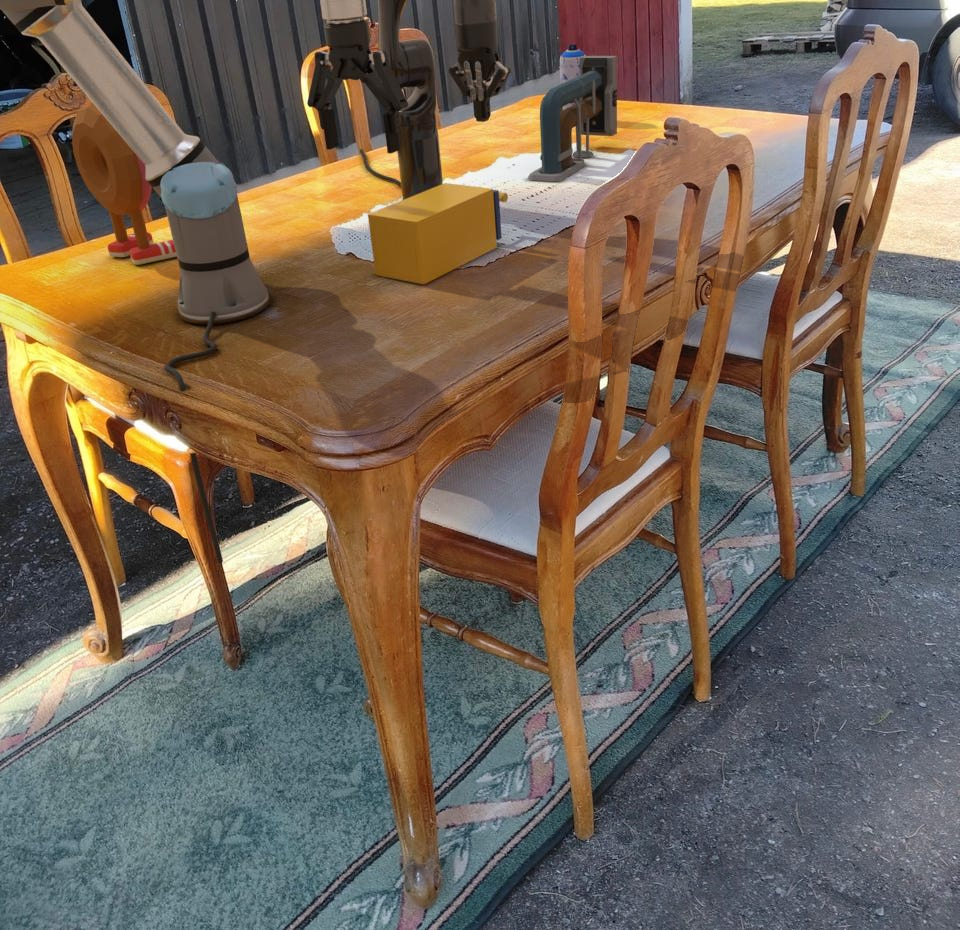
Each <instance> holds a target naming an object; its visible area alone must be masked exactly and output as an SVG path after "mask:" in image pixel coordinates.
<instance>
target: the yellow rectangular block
mask: <svg viewBox="0 0 960 930" xmlns="http://www.w3.org/2000/svg"><path fill="white" fill-rule="evenodd" d="M493 190H494V189H493V188H489V187H482V186H481V187H480V186H472V185H464V184H456V183H450V182H449V183H448V182H443V184H442V185H439V186H437V187H434V188H432V189H429V190H427V191H424V192H422V193H419V194H417V195H414V196H412V197H409V198H407V199H404V200H402V199H401V200H400V201H398V202H395V203H393V204H390V205H388V206H385V207H382V208H380V209H377V210H374V211H372V212H370V213H368V214H367V219H368V226H369V227H368V228H369V234H370V235H369V236H370V242H371V249H372V257H373V264H374V273H375V276H379V277H383V278H384V277H385V278H389V279H393V280H399V281H404V282H408V283H414V284H418V285H426V284H428V283H429V282H431V281H433V280H436V279H438V278H440V277H442V276H443V275H446V274H449V272H452V271H453V270H456V269H457V268H459V267H462V266H464V265H465V264H467V263H469V262H471V261H473V260H475V259H477V258H479V257H481V256H483V255H485V254H487V253H489V252H491V251H493V250H495V249H497V248H498V243H497V240H496V227H495V212H494V197H493Z"/></svg>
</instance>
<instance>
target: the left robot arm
mask: <svg viewBox="0 0 960 930" xmlns="http://www.w3.org/2000/svg"><path fill="white" fill-rule="evenodd" d="M82 3H83V2H82V0H0V11H2V13H3V14H4V15H5V16H6V17H7V19H8V20H9V21H10V22H11V23H12V24H13V25H14V26H15V28H16V29H17V30H18V31H19V32H20V33H21V35H23V36H27V37H32V38H36V39H38V40H39V41H40V42H41V44H43V46H44V47H45V48H46V49H47V51H48V52H49V53H50V54H51V56H53V58H54V59H55V60H56V62H58V64H60V66H61V67H62V68H63V69H64V71H65V72H66V73H67V74H68V76H69V77H70V78H71V79H72V80H73V81H74V82H75V84H76V85H77V86H78V87H79V88H80V90H81V91H82V93H84V94H85V96H86V97H87V98H88V99H89V100H90V102H91V103H93V104H94V105H95V106H96V107H97V108H98V110H99V111H100V112H101V113H102V114H103V116H104V117H105V118H106V119H107V120H108V122H109V123H110V124H111V125H112V126H113V127H114V129H115V130H116V131H117V132H118V133H119V135H120V136H121V137H122V138H123V139H124V141H125V142H126V143H127V144H128V145H129V146H130V148H131V149H132V150H133V151H134V152H135V154H136V155H137V156H138V157H139V158H140V160H141V161H142V162H143V163H144V164H145V167H146V168H145V179H146V180H147V182H148V183H149V184H150V185H151V186H152V189H153V190H154V191H155V193H156V194H157V195H158V196H159V197H160V199H161V202H162V204H163V205H164V208H165V212H166V213H165V214H166V217H167V221H168V225H169V229H170V234H171V237H172V240H173V242H174V246H175V250H176V254H177V257H176V258H177V262H178V266H179V283H178V294H177V310H178V314H179V318H180V319H182V320H183V321H184V322H186V323H189V324H193V325H202V326H203V325H204V326H205V325H206V328H205V331H204V334H203V342H204V343H205V345H206V346H208V347H209V348H208V349H207V348H206V349H205V350H202V351H201V350H200V351H197V352H192V353H189V354H184V355H183V354H182V355H180V356H177V357H174V358H172V359H170V360H169V361H168V362H166V364H165V365H164V370H165V372H167V373H169V374H171V375H173V376H174V377H175V378H176V379H175V380H177V383H178V388H179V391H180V392H185V391H186V385H185V381H184V379H183V377H182V375H181V373H180V372H179V371H178V370H176V368H173V366H174V365H175V364H178V363H182V362H184V361H189V360H193V359H198V358H202V357H206V356H209V355H211V354H213V353H214V352H216V350H217V348H218V347H217V344H216V343H215V342H214V341H211V340H210V339H209V338H210V334H211V332H212V329H213V326H214V325H222V324H230V323H233V322H239V321H241V320H245V319H248V318H251V317H253V316H256V315H258V314H260V312H263V311H264V310H265V309H266V308H267V307H268V306H269V305H270V296H269V292H268V290H267V287H266V284H265V283H264V282H263V280H262V278H261V276H260V274H259V272H258V270H257V269H256V267H255V265H254V264H253V262H252V260H251V257H250V251H249V246H248V241H247V236H246V232H245V227H244V222H243V221H244V220H243V217H242V212H241V207H240V202H239V197H238V186H237V183H236V180H235V179H234V175H233V173H232V171H231V170H230V169H229V168H228V167H227V166H226V164H224V163H223V162H221V161H220V160H219V159H218V158H216V157H215V156H214V154H213V153H212V152H211V151H210V150H209V149H208V147H207V146H206V145H205V143H204V142H203V140H201V138H200V137H199V136H197V135H190V134H186V133H185V132H184V131H183V130H182V129H181V127H180V126H179V124H178V123H177V122H176V121H175V120H174V118H173V117H172V116H171V115H170V113H169V112H168V111H167V110H166V109H165V107H164V106H163V104H162V103H160V101H159V99H158V98H156V95H154V93H152V91H151V90H150V89H149V87H148V86H147V85H146V84H145V82H144V81H143V80H142V79H141V77H140V76H139V75H138V74H137V72H136V71H135V70H134V69H133V68H132V66H131V64H129V62H128V61H127V60H126V58H125V57H124V56H123V55H122V54H121V53H120V51H119V50H118V48H117V47H116V46H115V45H114V43H113V42H112V41H111V40H110V39H109V38H108V36H107V35H106V33H105V32H104V31H103V30H102V28H101V27H100V25H98V23H96V21H95V20H94V18H93V17H92V16H91V15H90V13H89V12H88V11H87V10H86V9H85V7H84V6H83V4H82ZM319 3H320V10H321V17H322V18H321V19H322V20H323V21H326V23H324V25H323V31H324V36H325V44H326V46H327V47H328V48H329V51H328V50H327V49H324V50H320V51H315V52H314V69H313V74H312V79H311V83H310V89H309V93H308V98H307V101H306V103H307V106H308V107H309V108H314V109H315V110H316V111H317V113H318V119H319V125H320V129H321V130H323V135H324V141H325V147H326V150H329V151H330V150H333V149H335V148H338V147H339V146H340V143H339V137H338V129H337V124H336V117H335V109H334V108H332V107H333V106H332V105H331V104H332V103H333V101H334V99H335V97H336V96H337V95H336V94H337V93H338V91H339V89H340V88H341V85H342V83H343V81H346V80H347V81H348V80H353V81H360V82H361V83H363V84H365V86H367V88H368V90H369V91H370V92H371V93H372V95H373V96H374V97H375V99H376V100H377V101H378V102H379V104H380V105H381V107H382V108H383V109H384V110H385V113H384V114H382V118H383V126H384V134H385V142H386V143H385V144H386V150H387V154H393V153H396V152H397V151H398V150H400V146H399V138H398V132H399V131H400V129H401V126H400V117H399V112H400V110H402V109H404V108H407V107H408V102H407V100H408V99H407V98H406V96H405V93H404V92H403V89H402V90H401V88H400V86H399V84H398V82H397V80H396V78H395V75H394V73H393V71H392V69H391V67H390V65H389V62H388V57H387V53H386V51H385V50H381V51H379V50H378V51H374V52H372V50H371V49H370V44H371V33H370V25H369V21H368V20H367V19H365V17H366V16H367V15H368V11H367V10H368V9H367V2H366V0H319ZM330 64H331V66H332V69H331V71H330V73H329V69H330ZM373 66H374V68H375V69H374V68H373ZM328 73H329V75H328ZM327 78H328V80H327ZM326 82H327V83H326ZM189 455H190V459H191V460H190V461H191V464H192V468H193V472H194V477H195V480H196V485H197V488H198V492H199V496H200V499H201V503H202V507H203V511H204V514H205V518H206V522H207V525H208V526H207V527H208V529H209V533H210V537H211V540H212V545H213V548H214V551H215V556H216V560H217V563H218V564H223V562H224V560H223V555H222V552H221V547H220V543H219V540H218V535H217V532H216V528H215V525H214V521H213V517H212V512H211V510H210V506H209V501H208V497H207V494H206V490H205V487H204V486H205V485H204V482H203V479H202V475H201V470H200V467H199V462H198V457H197V453H196V452H191V453H189Z"/></svg>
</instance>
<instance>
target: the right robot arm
mask: <svg viewBox="0 0 960 930" xmlns="http://www.w3.org/2000/svg"><path fill="white" fill-rule="evenodd" d="M408 1H409V0H376V5H377V29H378V33H377V35H378V38H377V39H378V51H381V50H385V51H386V53H387V57H388V62H389V65H390V67H391V69H392V71H393V73H394V75H395V78H396V80H397V82H398V84H399V86H400V88H401V90H402V91H403V90H407V89H413V92H412V94H411V95H410V96H409V97H408V99H406V100H407V102H408V107H407V108H404V109H402V110H400V112H399V117H400V126H401V129H400V131H399V132H398V138H399V146H400V150H398V151H396V152H397V160H398V161H397V162H398V169H399V171H398V172H399V178H400V180H398V179H396V178H393V177H390V176H387V175H384V174H381V173H380V172H377V171H375V170H374V169H372V167H371V166H370V165H369V164H368V161H367V156H366V154H365V152H364V150H363V149H362V148H359V153H360V155H361V157H362V161H363V165H364V167H365V168H366V170H367V171H368V173H370V174H372V175H374V176H375V177H377V178H380V179H382V180H384V181H387V182H388V181H389V182H391V183H394V184H396V185H398V187H399V188H400V189H401V195H402V196H401V197H402V198H401V201H402V200H404V199H407V198H409V197H412V196H414V195H417V194H419V193H422V192H424V191H427V190H429V189H432V188H434V187H437V186H439V185H442V184H444V181H443V180H444V179H443V170H442V159H441V149H440V147H441V146H440V140H439V139H440V138H439V129H438V118H437V116H438V115H437V107H438V106H437V105H438V101H437V100H438V99H437V84H436V83H437V80H436V79H437V78H436V61H435V55H434V51H433V48H432V46H431V44H430V43H429V41H428V40H427V39H425V38H413V39H406V40H405V39H404V40H400V28H401V27H400V26H401V19H402V16H403V13H404V10H405V7H406V5H407V2H408ZM496 2H497V1H496V0H453V4H452V5H453V19H454V32H455V33H454V34H455V44H456V45H455V47H456V48H457V50H458V55H457V62H456V63H455V64H454V65H453V66H450V67H449V68H448V73H449V75H450V77H451V78H452V80H453V81H454V82H455V85H456V86H457V87H458V89H459V90H460V92H461V94H462V95H463V97H468V98H470V99H471V101H472V107H473V117H474V118H475V121H476V122H479V123H480V122H481V123H485V122H488V121H489V120H490V118H491V112H492V111H491V98H494V97H495V96H498V95H499V94H500V92H501V91H502V88H503V86H504V85H505V83H506V81H507V80H508V77H509V76H510V74H511V73H512V72H511V67H509V66H504V65H503V64H502V62H500V56H499V53H498V46H499V33H498V31H499V30H498V19H497V18H498V16H497V3H496ZM493 76H494V77H493Z"/></svg>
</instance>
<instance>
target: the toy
mask: <svg viewBox="0 0 960 930" xmlns="http://www.w3.org/2000/svg"><path fill="white" fill-rule="evenodd" d="M74 117H75V118H74V120H73V124H72V130H71V140H72V142H71V143H72V152H73V156H74V160H75V163H76V167H77V170H78V172H79V174H80V176H81V178H82V181H83V182H84V184H85V186H86V188H87V189H88V191H89V192H90V193H91V195H92V196H93V197H94V198H95V199H96V201H97V202H99V203H100V205H101V206H102V207H103V208H105V209H107V211H108V214H109V217H110V221H111V225H112V228H113V233H114V236H115V239H116V240H114V241H112V242H110V243H108V245H107V251H108V255H109V256H110V257H113V258H127V257H129V256H130V260H131V262H132V263H133V264H135V266H137V265H144V264H150V263H154V262H159V261H162V260H163V261H164V260H167V259H172V258H177V254H176V250H175V246H174V242H173V239H170V240H165V241H160V242H156V243H154V237H153V235H152V233H151V232H148V231H147V226H146V225H147V224H146V222H145V218H144V214H143V212H142V211H143V210H144V209H145V208H146V206H147V205H148V203H149V201H150V198H151V194H152V189H153V187H152V186H151V185H150V184H149V183H148V182H147V180H146V179H145V168H146V167H145V164H144V163H143V162H142V161H141V160H140V158H139V157H138V156H137V155H136V154H135V152H134V151H133V150H132V149H131V148H130V146H129V145H128V144H127V143H126V142H125V141H124V139H123V138H122V137H121V136H120V135H119V133H118V132H117V131H116V130H115V129H114V127H113V126H112V125H111V124H110V123H109V122H108V120H107V119H106V118H105V117H104V116H103V114H102V113H101V112H100V111H99V110H98V108H97V107H96V106H95V105H94V104H93V103H92V102H91V103H88V104H86V105H85V106H83V107H81V108H80V109H78V110H77V111H76V114H75V116H74ZM127 215H128V216H129V218H130V221H131V226H132V230H133V232H132V233H130V234H128V232H127V227H126V223H125V218H124V216H127Z"/></svg>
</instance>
